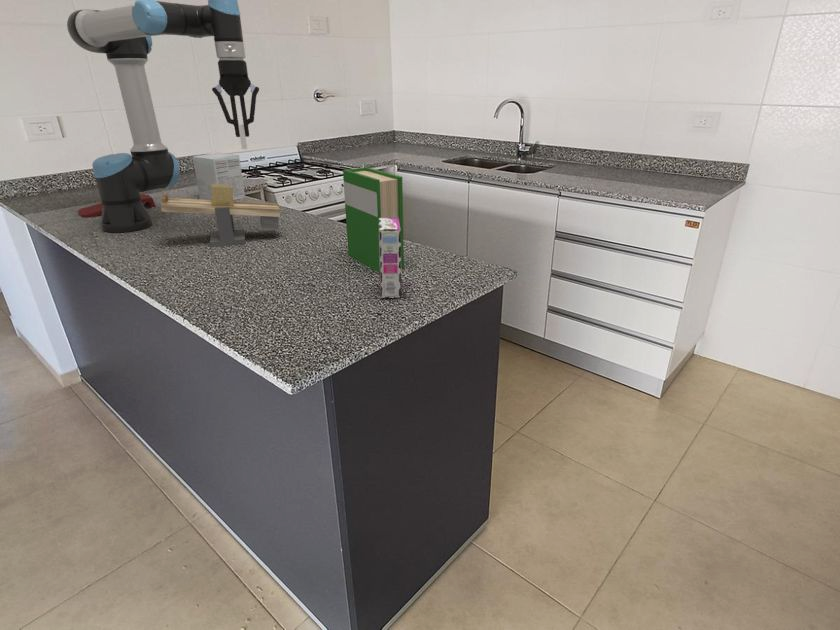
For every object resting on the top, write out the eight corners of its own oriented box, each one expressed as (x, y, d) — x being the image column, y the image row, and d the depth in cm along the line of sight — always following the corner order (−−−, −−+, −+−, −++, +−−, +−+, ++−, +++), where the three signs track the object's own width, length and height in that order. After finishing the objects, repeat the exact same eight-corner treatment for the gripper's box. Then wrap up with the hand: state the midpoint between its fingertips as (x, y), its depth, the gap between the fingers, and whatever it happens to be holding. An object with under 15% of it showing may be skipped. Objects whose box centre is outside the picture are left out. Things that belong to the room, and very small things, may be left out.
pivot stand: (212, 236, 166) (206, 200, 161) (244, 233, 169) (239, 198, 164) (210, 247, 156) (203, 209, 151) (245, 243, 158) (239, 206, 154)
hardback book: (403, 268, 138) (402, 176, 128) (379, 274, 134) (376, 180, 124) (371, 251, 151) (367, 167, 141) (348, 256, 147) (342, 170, 137)
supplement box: (246, 197, 218) (240, 154, 211) (220, 203, 208) (212, 158, 201) (225, 194, 225) (218, 152, 217) (199, 200, 215) (191, 156, 207)
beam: (166, 217, 159) (164, 192, 156) (277, 222, 169) (278, 198, 167) (162, 225, 150) (160, 199, 148) (279, 229, 161) (280, 205, 158)
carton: (87, 228, 190) (157, 208, 202) (81, 215, 187) (152, 196, 199) (82, 221, 198) (150, 202, 210) (76, 209, 196) (145, 191, 208)
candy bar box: (402, 298, 119) (401, 229, 112) (380, 299, 119) (378, 230, 112) (400, 281, 129) (398, 216, 123) (380, 282, 129) (377, 217, 122)
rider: (212, 203, 159) (211, 183, 157) (233, 204, 161) (233, 184, 159) (211, 206, 155) (211, 186, 152) (233, 207, 157) (232, 187, 154)
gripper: (205, 59, 138) (220, 151, 148) (256, 59, 142) (267, 149, 152) (207, 60, 145) (221, 148, 155) (255, 60, 148) (266, 146, 158)
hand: (244, 148), depth 153 cm, fingers closed
